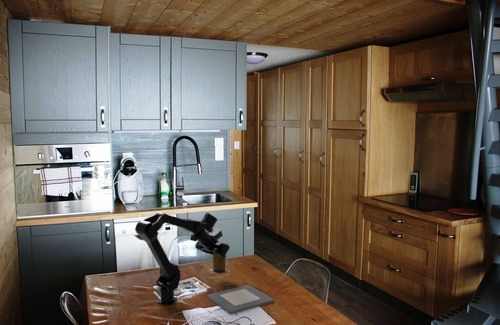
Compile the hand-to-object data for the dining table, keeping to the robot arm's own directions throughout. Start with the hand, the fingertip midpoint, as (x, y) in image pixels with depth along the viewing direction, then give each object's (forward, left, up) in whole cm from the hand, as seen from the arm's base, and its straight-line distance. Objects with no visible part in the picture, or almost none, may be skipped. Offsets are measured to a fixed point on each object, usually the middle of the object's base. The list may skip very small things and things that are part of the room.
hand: (220, 256), depth 202 cm
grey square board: (-19, -14, -12) cm, 27 cm away
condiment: (-2, 0, -7) cm, 7 cm away
